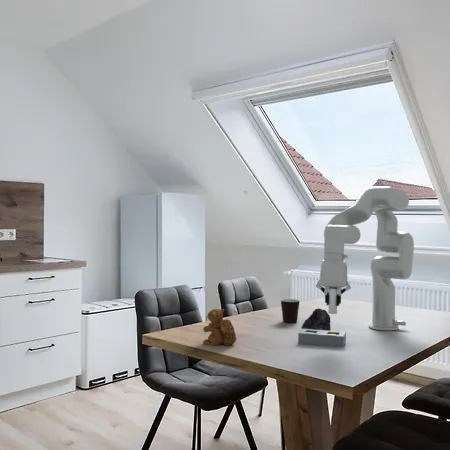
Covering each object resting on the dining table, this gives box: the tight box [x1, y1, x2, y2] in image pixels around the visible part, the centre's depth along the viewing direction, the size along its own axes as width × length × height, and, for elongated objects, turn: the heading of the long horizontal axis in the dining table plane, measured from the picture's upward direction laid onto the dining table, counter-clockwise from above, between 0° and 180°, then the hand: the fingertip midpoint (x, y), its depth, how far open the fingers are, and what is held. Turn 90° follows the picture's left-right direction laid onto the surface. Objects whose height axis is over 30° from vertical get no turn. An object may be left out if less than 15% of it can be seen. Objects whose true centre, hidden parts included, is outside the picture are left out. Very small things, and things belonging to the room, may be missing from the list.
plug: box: [327, 287, 338, 315], centre depth 210 cm, size 3×3×11 cm
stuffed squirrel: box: [202, 308, 238, 346], centre depth 209 cm, size 10×14×13 cm
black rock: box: [301, 308, 332, 331], centre depth 234 cm, size 13×14×10 cm
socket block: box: [297, 328, 347, 348], centre depth 212 cm, size 17×8×4 cm, turn 71°
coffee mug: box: [280, 298, 300, 324], centre depth 254 cm, size 12×9×10 cm
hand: (332, 304), depth 210 cm, fingers closed on plug, 3 cm apart
